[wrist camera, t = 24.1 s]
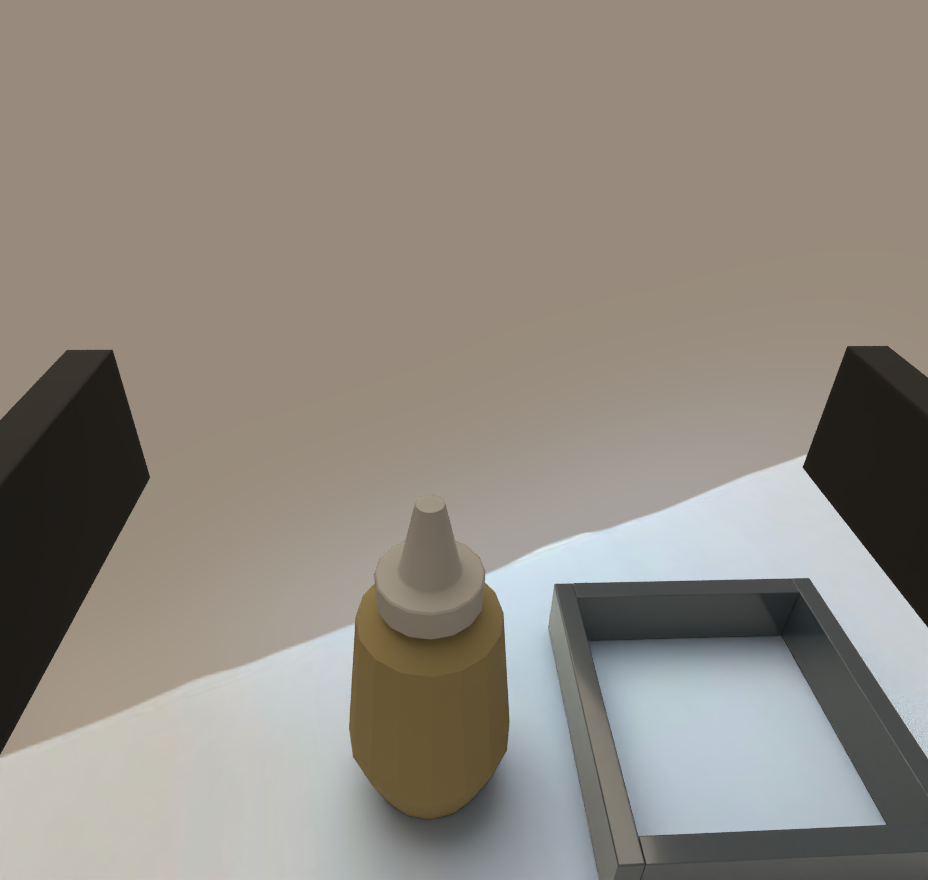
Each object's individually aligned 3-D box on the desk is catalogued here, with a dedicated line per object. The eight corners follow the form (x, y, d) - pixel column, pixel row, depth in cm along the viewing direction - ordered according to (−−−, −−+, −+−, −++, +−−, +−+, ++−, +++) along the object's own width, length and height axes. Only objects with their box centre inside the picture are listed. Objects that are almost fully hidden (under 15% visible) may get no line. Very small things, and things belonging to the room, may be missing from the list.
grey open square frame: (790, 620, 46) (809, 577, 44) (948, 891, 32) (987, 848, 30) (547, 627, 45) (554, 583, 43) (604, 909, 31) (618, 866, 29)
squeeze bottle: (522, 725, 39) (555, 468, 29) (478, 869, 32) (500, 604, 22) (391, 683, 41) (379, 429, 31) (325, 811, 34) (283, 544, 24)
